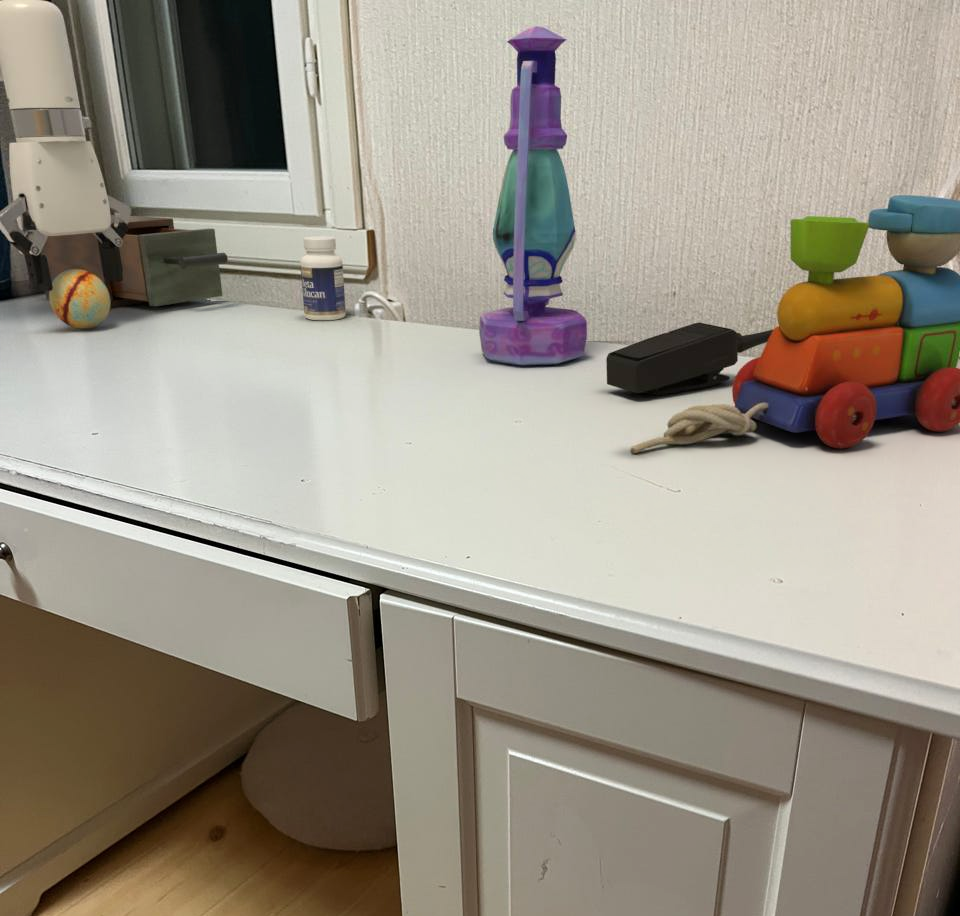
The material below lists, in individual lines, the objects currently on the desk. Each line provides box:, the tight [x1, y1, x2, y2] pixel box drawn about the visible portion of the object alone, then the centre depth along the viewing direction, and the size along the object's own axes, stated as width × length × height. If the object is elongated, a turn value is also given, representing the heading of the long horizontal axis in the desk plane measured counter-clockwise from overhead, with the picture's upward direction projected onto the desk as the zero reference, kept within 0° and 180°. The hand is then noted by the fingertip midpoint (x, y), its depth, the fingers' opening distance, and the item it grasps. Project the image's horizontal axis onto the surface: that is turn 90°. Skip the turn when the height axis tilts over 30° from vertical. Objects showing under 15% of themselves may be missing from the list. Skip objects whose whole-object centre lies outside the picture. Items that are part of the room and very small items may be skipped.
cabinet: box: [41, 214, 175, 309], centre depth 144 cm, size 16×13×11 cm
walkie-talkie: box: [605, 322, 774, 396], centre depth 92 cm, size 6×6×20 cm
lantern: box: [478, 25, 588, 366], centre depth 98 cm, size 13×12×30 cm
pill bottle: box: [299, 235, 347, 321], centre depth 127 cm, size 5×5×10 cm
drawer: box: [110, 227, 229, 307], centre depth 137 cm, size 20×12×9 cm, turn 53°
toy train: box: [629, 194, 960, 454], centre depth 74 cm, size 12×29×17 cm, turn 115°
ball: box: [48, 269, 111, 330], centre depth 121 cm, size 7×7×7 cm
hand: (79, 285), depth 121 cm, fingers open, 9 cm apart
